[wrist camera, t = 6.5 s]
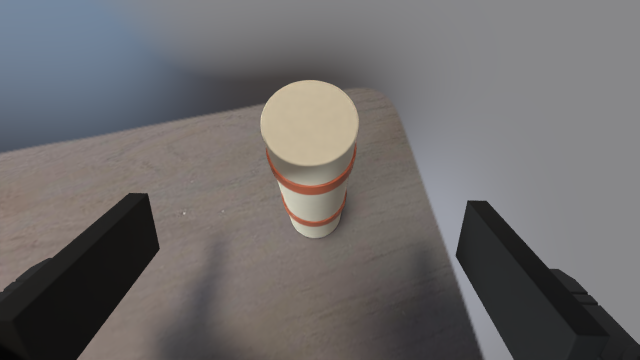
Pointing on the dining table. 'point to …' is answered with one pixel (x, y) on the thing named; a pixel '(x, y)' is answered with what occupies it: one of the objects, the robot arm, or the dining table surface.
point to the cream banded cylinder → (311, 151)
